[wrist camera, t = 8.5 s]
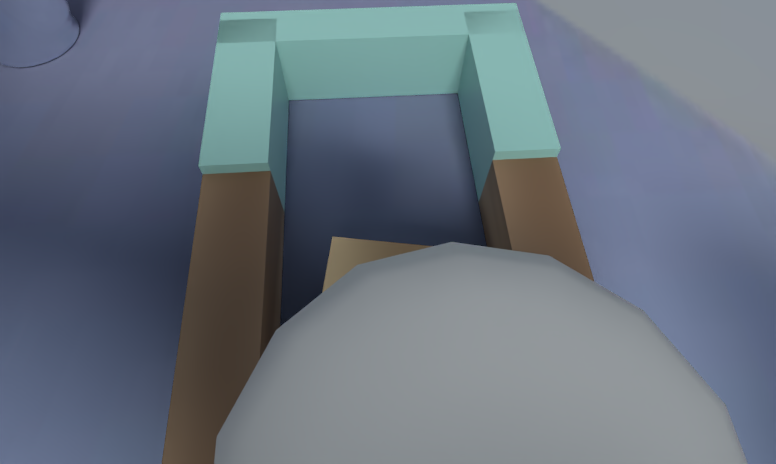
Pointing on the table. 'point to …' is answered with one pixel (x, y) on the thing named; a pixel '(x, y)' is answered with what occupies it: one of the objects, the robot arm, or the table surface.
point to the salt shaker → (474, 373)
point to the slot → (264, 281)
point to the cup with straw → (35, 31)
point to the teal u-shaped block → (373, 78)
